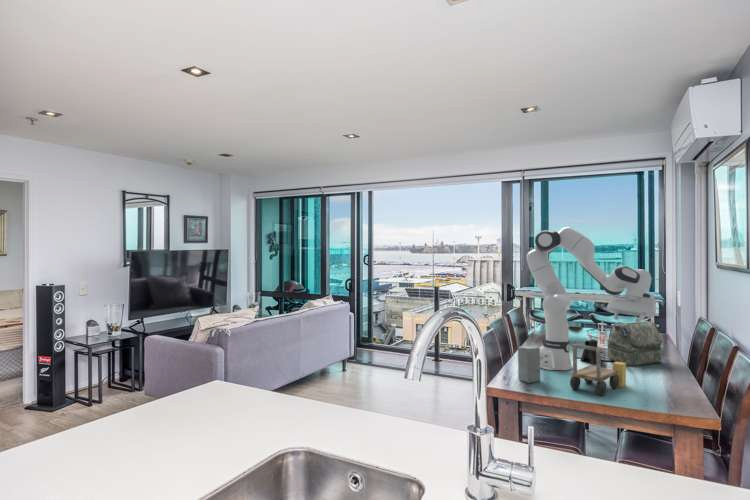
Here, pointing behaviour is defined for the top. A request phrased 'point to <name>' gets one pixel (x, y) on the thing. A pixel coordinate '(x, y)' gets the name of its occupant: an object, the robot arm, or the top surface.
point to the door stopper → (590, 353)
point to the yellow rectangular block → (620, 372)
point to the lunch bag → (635, 343)
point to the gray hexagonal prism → (529, 364)
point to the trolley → (593, 372)
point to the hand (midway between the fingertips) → (626, 320)
